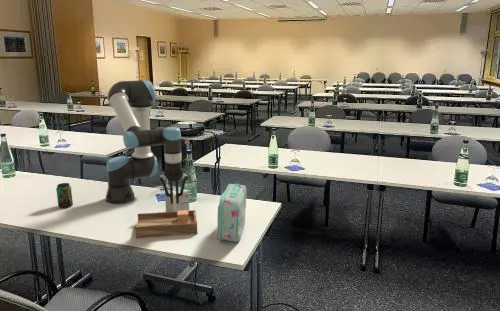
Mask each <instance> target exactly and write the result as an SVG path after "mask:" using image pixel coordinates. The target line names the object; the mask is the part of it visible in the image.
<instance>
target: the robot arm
mask: <svg viewBox="0 0 500 311" xmlns="http://www.w3.org/2000/svg"><path fill="white" fill-rule="evenodd" d="M156 96H157V95H156V90H155V86H154V84H153V83H152V82H151V81H150V80H142V79H141V80H140V79H139V80H121V81H117V82H115V83H114V84H113V85H112V86H111V87H110V88H109V90H108V94H107V101H108V104H109V107H111V108H112V109H114V110H113V111H114V112H115V114H116V116H117V118H118V121H119V122H120V125H121V127H122V129H123V131H124V132H123V134H122V140H123V145H124V148H126V149H134V152H133V153H132V154H131V158H129V156H125V155H123V156H121V155H120V156H115V157H113V158H110V159H109V160H107V161H106V177H107V187H108V188H107V191H106V194H105V201H106V203H108V204H113V205H122V204H127V203H129V202H132V201H133V200H135V197H136V196H135V192H134V190H133V187H132V185H131V180H137V179H146V178H150V177H155V175H156V173H157V171H158V159H157V156H155V155H154V152H152V150H151V147H153V146H155V147H156V146H163V152H164V157H163V158H164V173H163V174H162V175H160V176H159V181H160V182H162V186H163V189H164V194H165V193H166V196H167V197H170V202H171V204H173V211H177V206H176V204H178V203H179V196H182V195H183V191H184V189H185V185H186V181H187V180H188V178H189V177H188V174H185V173H184V172H183V168H182V166H183V164H182V163H183V162H182V159H183V158H182V134H181V129H180V127H177V126H167V127H164V126H163V127H162V126H160V127H157V128H155V129H154V128H153V129H152V128H151V124H150V123H151V122H150V109H151V108H152V107H153V103H155V102H156V99H157V97H156ZM181 178H182V181H181V185H180V188H181V190H180V193H179V192H178V189H179V181H180V179H181ZM166 179H167V180H168V181H169V189H168V186H167V183H166ZM174 182H175V189H176V196H173V190H174V189H173V188H174V186H173V183H174ZM168 191H170V193H169V192H168Z"/></svg>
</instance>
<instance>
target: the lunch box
mask: <svg viewBox="0 0 500 311" xmlns="http://www.w3.org/2000/svg"><path fill="white" fill-rule="evenodd" d="M246 208H247V186H246V185H243V184H240V183H234V184H233V183H228V184H227V186H226V189H225V190H224V191H223V193H222V194H221V195H220V198H219V204H218V206H217V237H218V240H220V241H228V242H235V243H238V242H239V240H240V239H241V237H242V235H243V232H244V229H245V228H244V227H245V224H246Z"/></svg>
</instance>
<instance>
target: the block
mask: <svg viewBox="0 0 500 311" xmlns="http://www.w3.org/2000/svg"><path fill="white" fill-rule="evenodd" d="M188 211H189V210H181V211H177V214H178V223H183V222H189V216H188Z"/></svg>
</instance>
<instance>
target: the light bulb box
mask: <svg viewBox="0 0 500 311" xmlns="http://www.w3.org/2000/svg"><path fill="white" fill-rule="evenodd" d="M180 190H181V187H180V188H179V187H178V192H179V193H180ZM168 192H169V193H170V190H168ZM173 196H176V188H174V189H173ZM164 203H165V212H173V204H171V202H170V197H167V196H166V193H165V192H164ZM176 206H177V211H181V210H188V211H189V210H190V191H189V189H186V188H184V191H183V195H182V196H179V203H178V204H176Z"/></svg>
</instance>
